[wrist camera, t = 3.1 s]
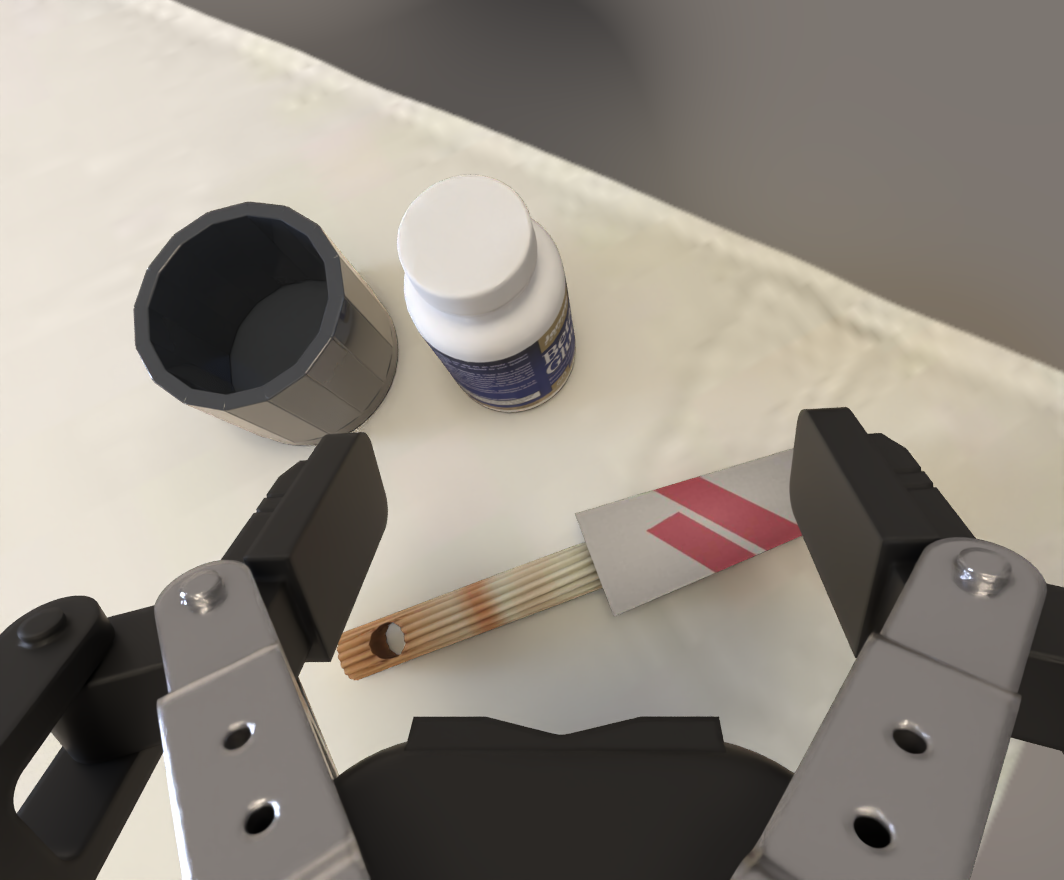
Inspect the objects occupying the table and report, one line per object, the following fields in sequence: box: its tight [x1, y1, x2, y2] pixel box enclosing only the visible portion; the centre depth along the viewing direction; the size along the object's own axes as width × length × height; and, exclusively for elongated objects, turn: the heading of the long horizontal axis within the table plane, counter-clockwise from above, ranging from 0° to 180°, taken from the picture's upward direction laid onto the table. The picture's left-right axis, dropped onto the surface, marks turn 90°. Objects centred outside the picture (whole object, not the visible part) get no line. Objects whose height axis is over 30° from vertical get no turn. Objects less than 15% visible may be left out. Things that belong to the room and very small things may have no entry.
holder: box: [134, 202, 398, 445], centre depth 26 cm, size 8×8×6 cm
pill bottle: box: [397, 174, 575, 412], centre depth 23 cm, size 5×5×10 cm
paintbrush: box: [337, 448, 802, 680], centre depth 24 cm, size 4×3×20 cm
